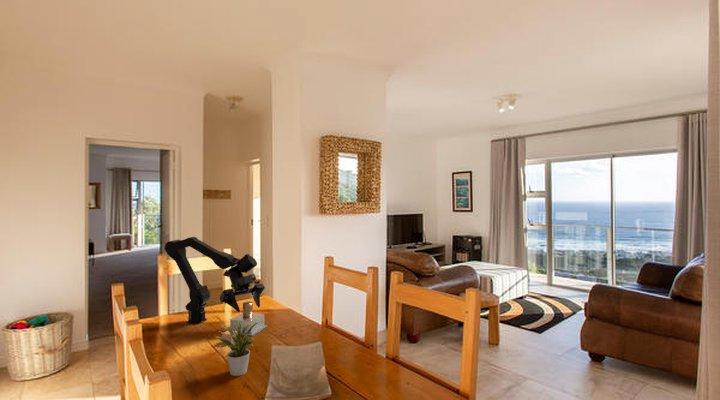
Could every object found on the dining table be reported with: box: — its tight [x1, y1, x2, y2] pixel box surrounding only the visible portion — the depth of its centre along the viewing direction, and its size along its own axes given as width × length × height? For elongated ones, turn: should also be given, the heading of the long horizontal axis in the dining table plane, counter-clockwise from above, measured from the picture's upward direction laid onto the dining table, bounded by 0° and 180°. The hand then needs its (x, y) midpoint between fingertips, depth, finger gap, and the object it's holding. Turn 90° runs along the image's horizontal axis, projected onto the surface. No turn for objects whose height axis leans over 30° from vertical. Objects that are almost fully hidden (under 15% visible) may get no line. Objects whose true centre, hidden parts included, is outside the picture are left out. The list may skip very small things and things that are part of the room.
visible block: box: [221, 329, 238, 345], centre depth 147 cm, size 4×4×4 cm
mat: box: [237, 324, 269, 337], centre depth 161 cm, size 12×12×1 cm
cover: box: [229, 301, 265, 334], centre depth 161 cm, size 10×10×11 cm
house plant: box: [214, 320, 259, 377], centre depth 123 cm, size 14×14×16 cm
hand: (249, 309), depth 160 cm, fingers open, 9 cm apart
